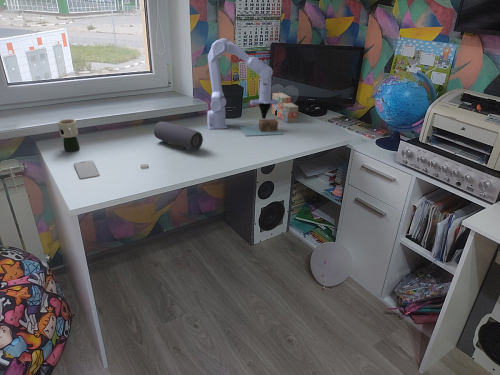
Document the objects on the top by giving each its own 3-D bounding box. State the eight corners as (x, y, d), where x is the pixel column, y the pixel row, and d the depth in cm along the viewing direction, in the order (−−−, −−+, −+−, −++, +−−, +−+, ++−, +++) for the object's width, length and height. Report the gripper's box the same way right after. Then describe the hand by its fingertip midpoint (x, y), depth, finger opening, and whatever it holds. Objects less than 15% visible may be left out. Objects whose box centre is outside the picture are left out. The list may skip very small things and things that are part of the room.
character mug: (61, 147, 167) (55, 118, 161) (78, 144, 171) (73, 116, 165) (65, 155, 159) (59, 126, 153) (83, 152, 163) (78, 123, 157)
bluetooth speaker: (204, 149, 172) (203, 128, 167) (190, 155, 165) (189, 133, 160) (168, 138, 183) (167, 118, 178) (153, 143, 176) (152, 122, 171)
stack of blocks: (296, 122, 214) (299, 101, 208) (287, 123, 211) (289, 101, 206) (280, 112, 231) (281, 92, 225) (271, 112, 229) (272, 92, 223)
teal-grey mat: (245, 136, 189) (245, 135, 189) (239, 127, 201) (239, 126, 201) (283, 134, 194) (283, 133, 194) (275, 126, 206) (275, 125, 206)
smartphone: (79, 178, 140) (73, 163, 151) (80, 181, 140) (73, 165, 152) (100, 175, 143) (92, 159, 154) (100, 177, 144) (92, 162, 155)
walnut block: (261, 122, 193) (278, 121, 195) (259, 119, 197) (275, 119, 199) (261, 131, 195) (277, 131, 197) (258, 128, 199) (274, 128, 202)
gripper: (253, 93, 183) (252, 120, 190) (281, 93, 187) (279, 119, 193) (249, 90, 189) (248, 116, 196) (277, 90, 193) (275, 115, 199)
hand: (263, 118), depth 195 cm, fingers closed
